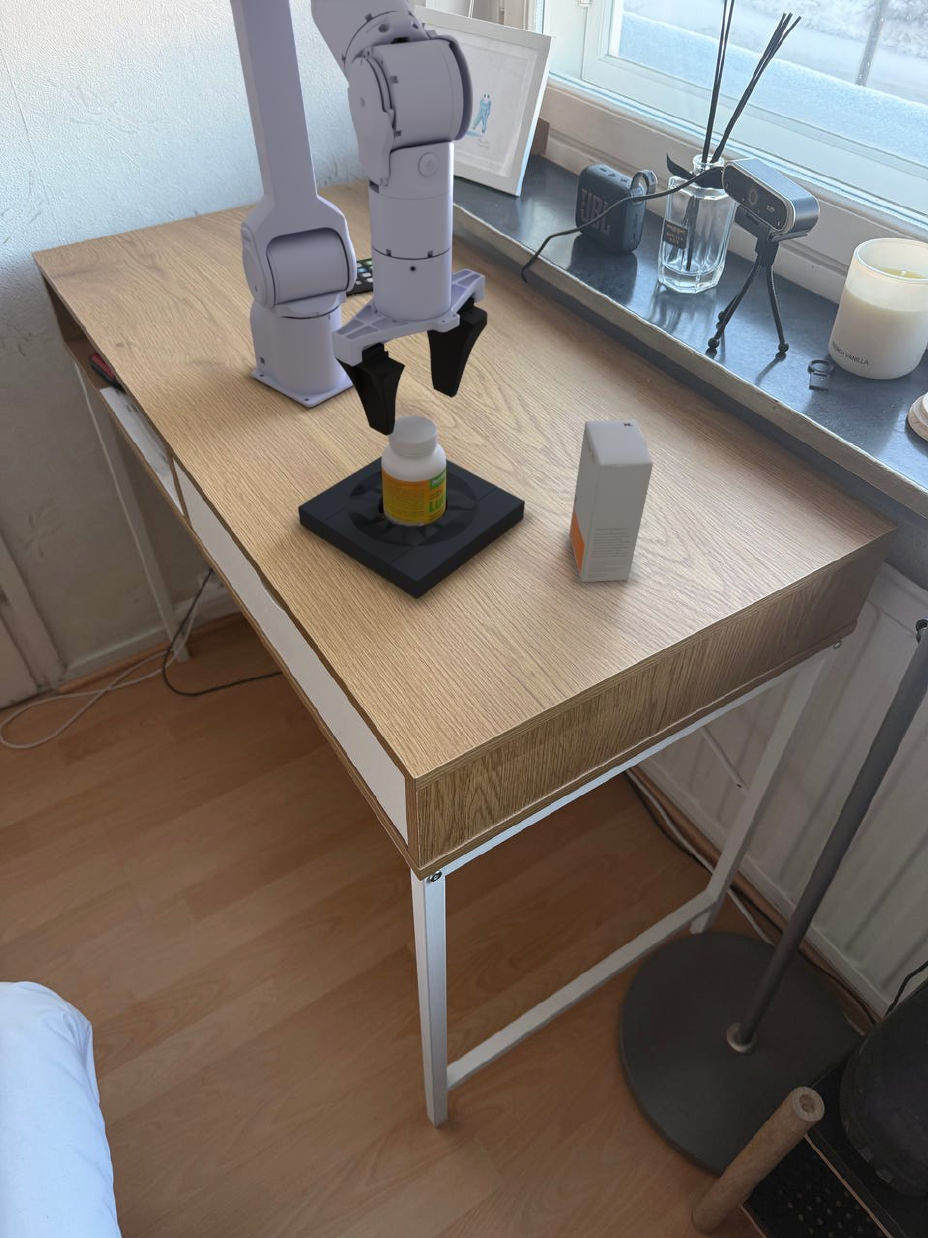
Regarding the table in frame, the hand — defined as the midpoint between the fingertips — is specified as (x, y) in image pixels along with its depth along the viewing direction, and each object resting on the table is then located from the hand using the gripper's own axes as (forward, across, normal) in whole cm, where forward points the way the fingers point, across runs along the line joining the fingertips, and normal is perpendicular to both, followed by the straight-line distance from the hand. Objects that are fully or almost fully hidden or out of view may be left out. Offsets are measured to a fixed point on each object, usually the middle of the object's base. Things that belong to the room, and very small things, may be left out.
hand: (414, 410), depth 71 cm
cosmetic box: (+10, +6, -16) cm, 20 cm away
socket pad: (+10, -2, -1) cm, 10 cm away
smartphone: (+10, +26, +38) cm, 47 cm away
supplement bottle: (+10, -2, -1) cm, 11 cm away
